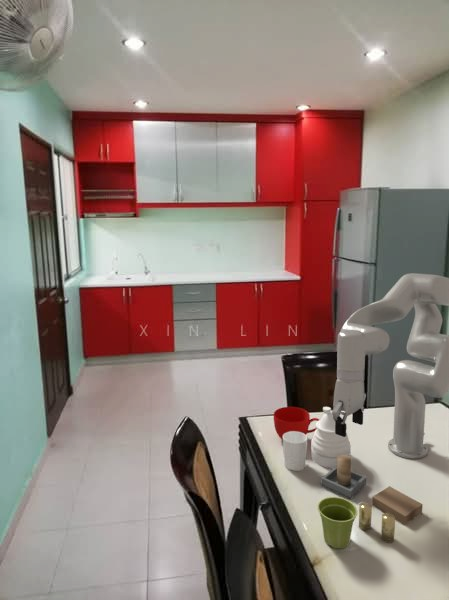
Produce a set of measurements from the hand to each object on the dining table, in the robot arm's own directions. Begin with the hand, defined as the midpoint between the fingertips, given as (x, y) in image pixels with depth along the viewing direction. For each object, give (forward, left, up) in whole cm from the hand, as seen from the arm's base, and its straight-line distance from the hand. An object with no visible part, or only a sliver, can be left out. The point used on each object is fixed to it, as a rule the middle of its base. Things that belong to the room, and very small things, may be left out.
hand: (349, 429), depth 124 cm
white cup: (+2, -18, -18) cm, 26 cm away
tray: (+1, -1, -18) cm, 18 cm away
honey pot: (-10, -12, -18) cm, 24 cm away
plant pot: (+22, +9, -18) cm, 30 cm away
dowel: (+1, -1, -18) cm, 18 cm away
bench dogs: (+13, +15, -18) cm, 27 cm away
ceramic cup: (-12, -27, -18) cm, 35 cm away
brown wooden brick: (+1, +15, -19) cm, 24 cm away
